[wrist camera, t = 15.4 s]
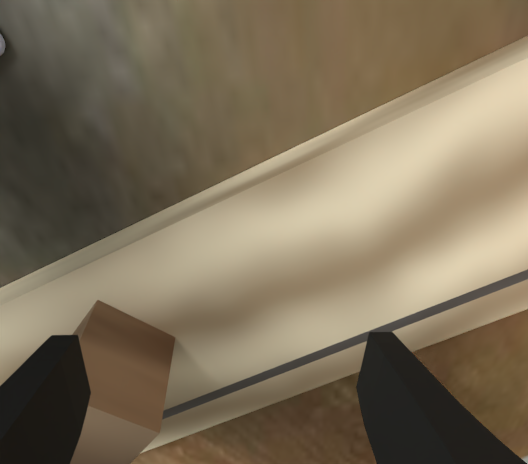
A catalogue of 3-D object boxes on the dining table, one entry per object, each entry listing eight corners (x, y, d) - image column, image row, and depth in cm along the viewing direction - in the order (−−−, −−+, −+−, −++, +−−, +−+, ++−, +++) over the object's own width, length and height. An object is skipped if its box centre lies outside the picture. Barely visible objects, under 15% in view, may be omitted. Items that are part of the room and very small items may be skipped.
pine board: (-49, 311, 21) (-75, 340, 19) (567, 16, 16) (609, 19, 14) (100, 440, 26) (91, 471, 25) (587, 252, 21) (618, 275, 20)
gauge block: (97, 299, 18) (56, 393, 14) (175, 337, 20) (159, 433, 16) (25, 398, 21) (-28, 502, 17) (98, 425, 23) (66, 527, 18)
